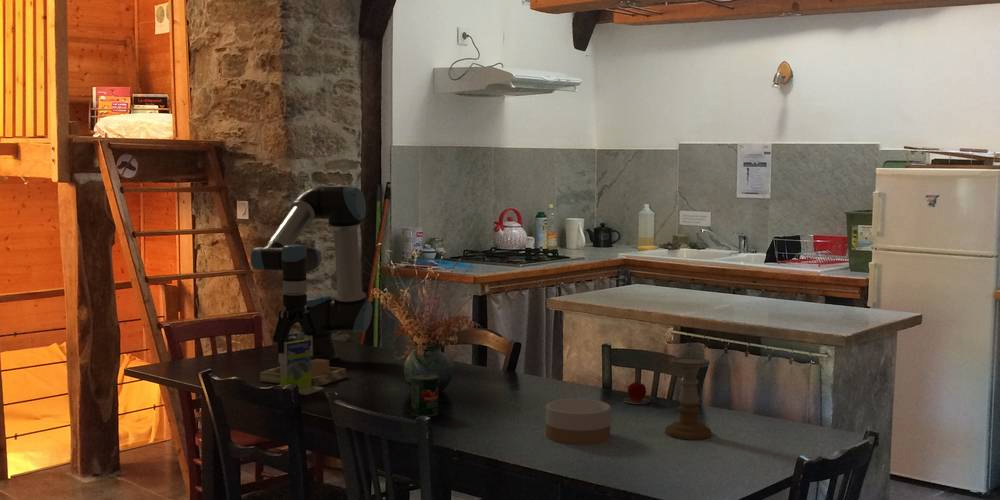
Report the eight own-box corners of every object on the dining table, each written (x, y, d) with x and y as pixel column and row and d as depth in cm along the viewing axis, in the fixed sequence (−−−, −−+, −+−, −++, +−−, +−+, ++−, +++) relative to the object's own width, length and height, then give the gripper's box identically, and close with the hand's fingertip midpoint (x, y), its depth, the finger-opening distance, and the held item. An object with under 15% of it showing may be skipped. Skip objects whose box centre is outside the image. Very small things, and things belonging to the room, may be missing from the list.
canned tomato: (431, 417, 294) (431, 379, 293) (406, 415, 297) (406, 377, 296) (442, 411, 301) (442, 374, 300) (418, 409, 304) (418, 372, 303)
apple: (630, 398, 320) (631, 377, 319) (654, 401, 315) (654, 380, 315) (618, 402, 313) (618, 381, 313) (641, 406, 309) (642, 385, 308)
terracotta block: (316, 379, 346) (316, 358, 345) (329, 380, 344) (329, 360, 343) (309, 381, 342) (309, 360, 342) (322, 382, 340) (322, 362, 340)
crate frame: (292, 371, 359) (292, 363, 358) (346, 377, 349) (346, 368, 349) (260, 381, 342) (260, 372, 342) (315, 387, 333) (314, 378, 333)
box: (287, 391, 324) (286, 337, 323) (278, 389, 327) (278, 335, 325) (312, 385, 333) (312, 333, 331) (304, 384, 335) (303, 331, 334)
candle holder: (719, 438, 273) (721, 363, 271) (677, 441, 270) (679, 365, 268) (698, 426, 285) (699, 354, 283) (657, 429, 281) (658, 357, 280)
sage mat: (285, 384, 337) (285, 383, 337) (323, 389, 330) (323, 387, 330) (268, 390, 329) (268, 388, 329) (307, 394, 322) (306, 392, 322)
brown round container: (563, 448, 263) (564, 416, 263) (534, 432, 279) (535, 401, 278) (622, 441, 270) (622, 409, 270) (590, 425, 286) (591, 396, 285)
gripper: (308, 288, 340) (309, 351, 342) (260, 297, 317) (261, 365, 319) (327, 289, 337) (328, 353, 339) (280, 299, 314) (281, 367, 316)
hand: (296, 359), depth 329 cm, fingers open, 13 cm apart
